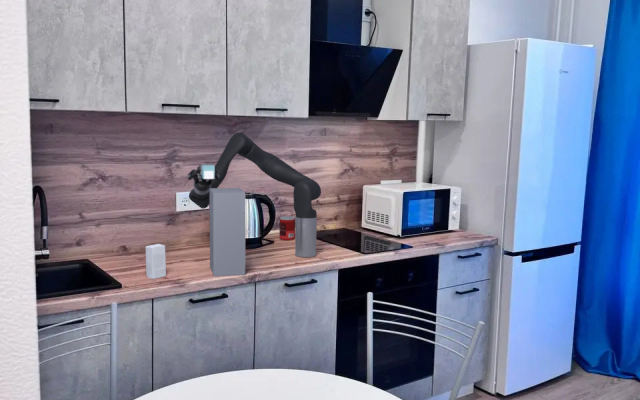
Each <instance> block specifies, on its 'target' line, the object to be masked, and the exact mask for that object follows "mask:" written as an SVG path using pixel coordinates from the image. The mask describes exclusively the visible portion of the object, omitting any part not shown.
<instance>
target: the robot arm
mask: <svg viewBox="0 0 640 400" xmlns="http://www.w3.org/2000/svg"><path fill="white" fill-rule="evenodd" d="M236 155H239V156H240V157H243V158H244V159H247V160H249V161H250V162H252V163H253V164H255V165H256V166H257V167H258V168H259V169H260V171H262V172H263V173H264V174H266V175H267V176H268V177H270V178H271V179H273V180H275V181H277V182H280V183H283V184H286V185H288V186H291V187H292V188H293V194H292V195H293V196H292V197H293V210H294V212H295V239H294V240H295V241H294V243H295V244H294V248H295V249H294V256H296V257H299V258H313V257H316V255H317V220H318V219H317V215H318V213H317V210H316V209H314V208H313V207H312V205H313V204H312V201H316V200H317V199H319V198H320V197H321V194H322V188H321V186H320V184H319V183H318V182H317V181H316V180H314V179H313V178H311V177H308V176H306V175H304V174H303V173H302V172H299V171H298V170H296V169H295V168H294V167H292V166H291V165H289V164H288V163H287V162H285V161H284V160H282V159H281V158H279V157H278V156H276V155H275V154H273V153H270V152H268V151H265V150H264V149H262V148H261V147H260V146H259V145H257V143H255V142H254V141H253V140H252V139H251V138H250V137H249V136H248V135H246V134H244V133H242V132H236V133H234V134H232V136H231V137H230V139H229V140H228V142H227V144H226V146H225V148H224V150H223V151H222V153H221V155H220V156H219V158H218V160H217V162H216V163H215V165H214V166H215V179H203V178H202V175H201V174H200V173H201V165H198V166H197V167H196V169H192V170H191V171H189V172H188V174H187V180H188V181H190V180H193V188H192V189H191V191H190V192H189V194H188V198H189V201H191V202H192V203H194V204H195V205H196V206H198V207H199V208H201V209H203V210H204V209H206V208H208V207H210V188H219V186H220V185H221V184H222V182H223V181H224V180H225V178H226V176H227V174H228V171H229V167H230V165H231V162H232V160H233V159H234V158H235V156H236Z"/></svg>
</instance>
